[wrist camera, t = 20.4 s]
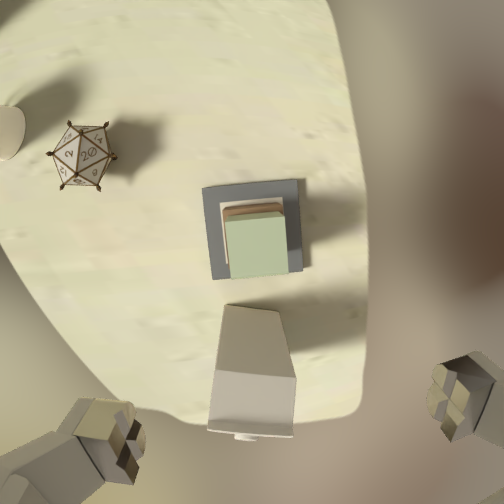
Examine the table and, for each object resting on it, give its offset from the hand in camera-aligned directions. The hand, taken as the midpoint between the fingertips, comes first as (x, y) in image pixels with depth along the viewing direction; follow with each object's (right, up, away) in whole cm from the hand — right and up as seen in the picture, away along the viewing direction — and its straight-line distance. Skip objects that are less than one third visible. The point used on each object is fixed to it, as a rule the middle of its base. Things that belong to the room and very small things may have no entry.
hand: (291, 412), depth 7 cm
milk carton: (-2, -6, +34) cm, 34 cm away
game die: (-21, +16, +28) cm, 38 cm away
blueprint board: (-1, +7, +30) cm, 31 cm away
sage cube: (-1, +5, +24) cm, 25 cm away
